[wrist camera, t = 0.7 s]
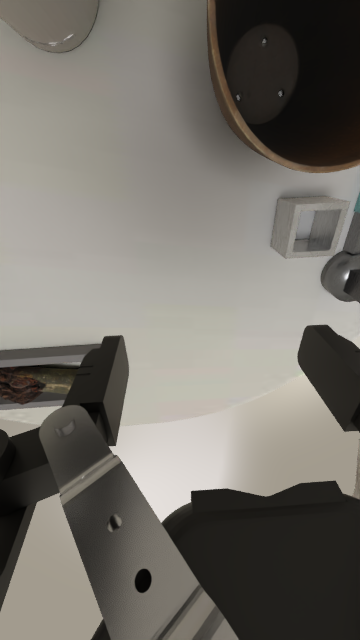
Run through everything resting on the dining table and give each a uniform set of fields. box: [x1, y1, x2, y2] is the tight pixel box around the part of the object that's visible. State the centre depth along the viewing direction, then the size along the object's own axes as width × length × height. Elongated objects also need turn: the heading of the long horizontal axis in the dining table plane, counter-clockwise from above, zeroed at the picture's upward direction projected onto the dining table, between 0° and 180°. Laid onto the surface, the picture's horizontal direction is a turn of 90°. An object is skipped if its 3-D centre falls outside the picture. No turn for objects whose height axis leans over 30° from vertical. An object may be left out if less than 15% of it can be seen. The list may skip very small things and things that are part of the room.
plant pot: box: [207, 0, 360, 173], centre depth 18 cm, size 15×15×16 cm
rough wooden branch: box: [0, 366, 78, 405], centre depth 43 cm, size 18×7×6 cm, turn 78°
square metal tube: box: [270, 196, 350, 259], centre depth 30 cm, size 6×6×5 cm
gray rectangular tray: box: [0, 344, 101, 410], centre depth 44 cm, size 12×23×2 cm, turn 92°
